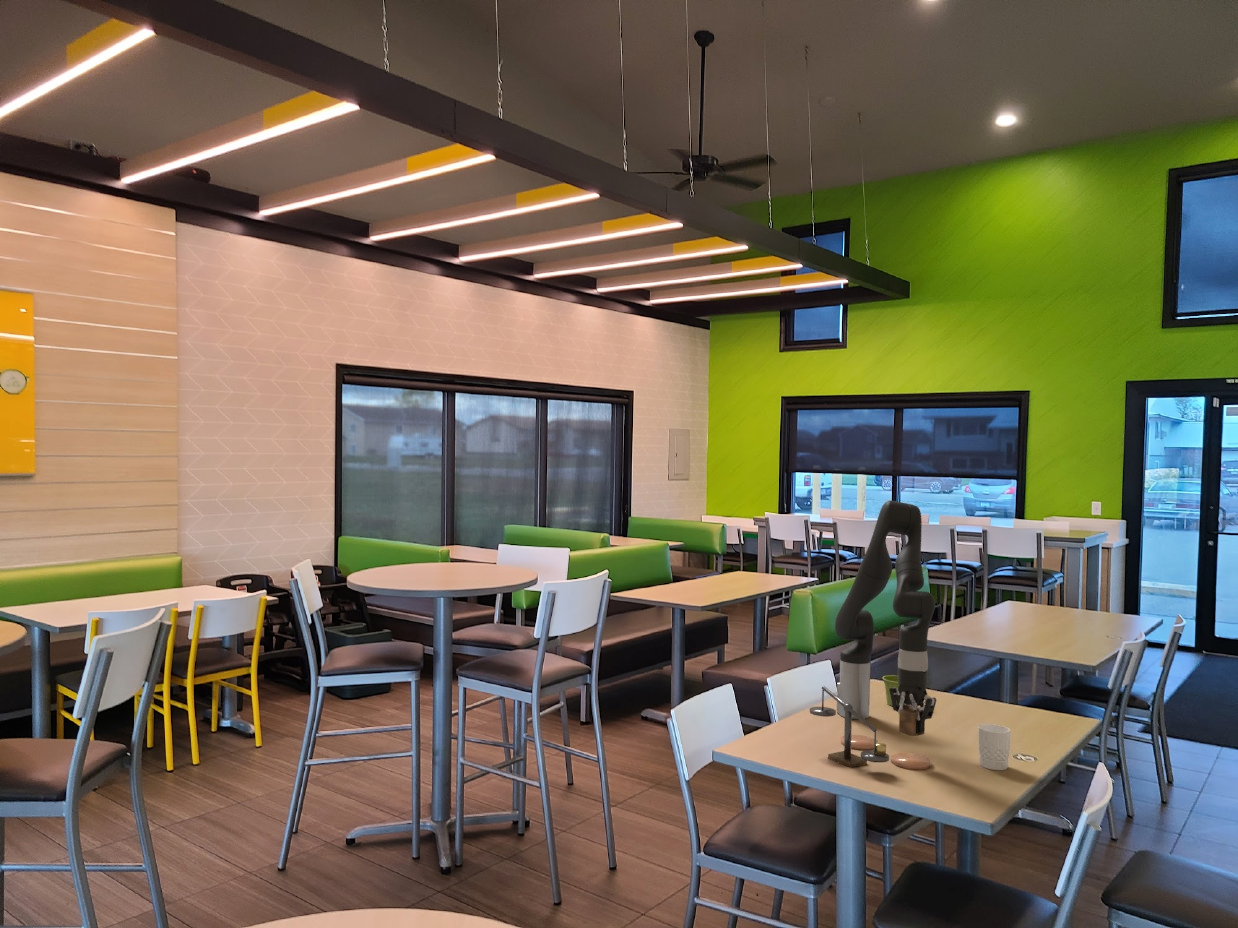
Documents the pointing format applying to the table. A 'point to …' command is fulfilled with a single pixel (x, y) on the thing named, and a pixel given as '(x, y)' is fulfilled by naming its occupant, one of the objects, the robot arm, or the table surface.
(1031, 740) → the table surface
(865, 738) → the dish left
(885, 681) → the plant pot
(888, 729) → the table surface
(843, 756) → the balance
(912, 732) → the walnut block
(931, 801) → the table surface
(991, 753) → the white cup
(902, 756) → the dish right
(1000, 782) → the table surface
